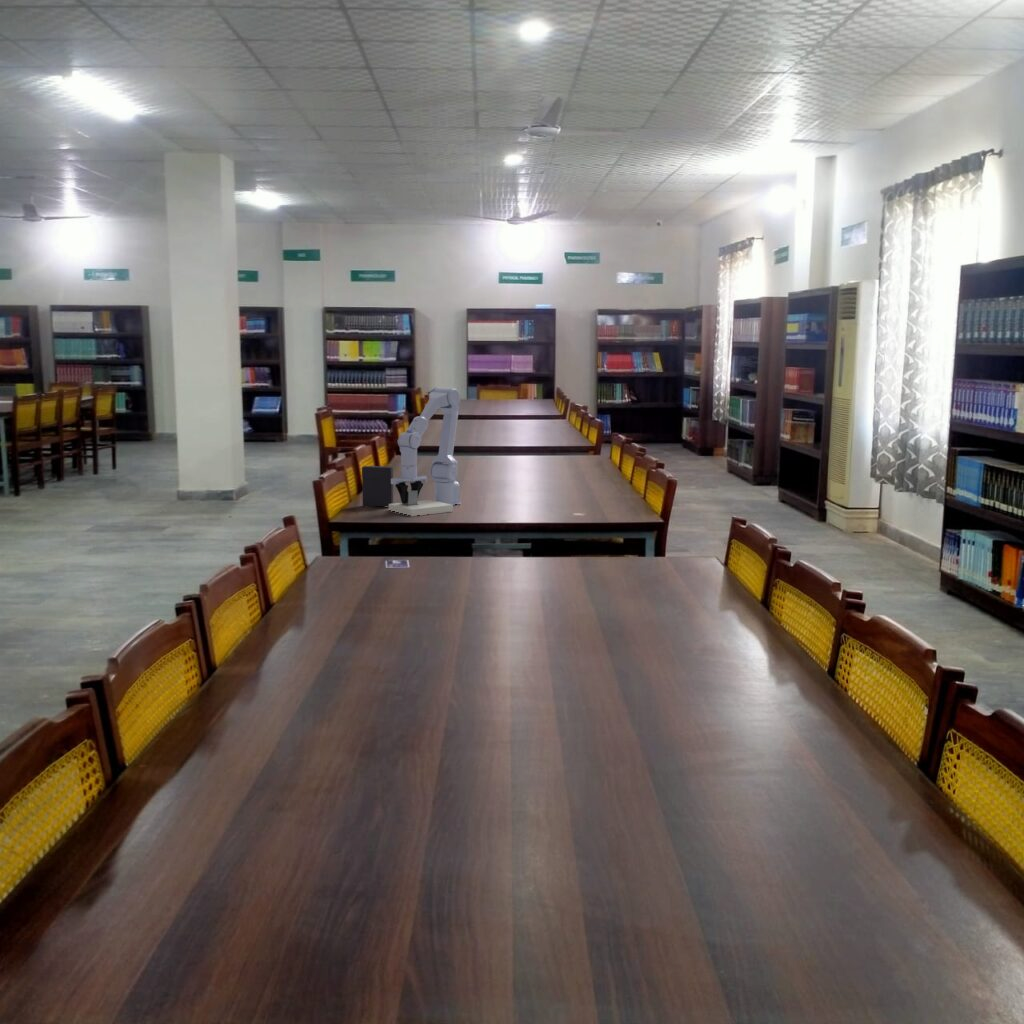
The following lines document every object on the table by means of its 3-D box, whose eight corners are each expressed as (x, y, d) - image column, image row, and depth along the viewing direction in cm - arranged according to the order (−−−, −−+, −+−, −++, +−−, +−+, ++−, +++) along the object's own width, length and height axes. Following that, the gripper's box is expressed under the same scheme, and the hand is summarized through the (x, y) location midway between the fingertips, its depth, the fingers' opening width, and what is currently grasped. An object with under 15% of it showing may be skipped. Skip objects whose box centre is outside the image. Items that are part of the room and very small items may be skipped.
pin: (411, 505, 355) (411, 488, 354) (417, 506, 352) (417, 490, 351) (402, 506, 352) (402, 489, 351) (408, 507, 350) (408, 491, 348)
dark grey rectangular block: (393, 506, 363) (393, 466, 361) (391, 507, 359) (390, 467, 357) (365, 505, 364) (364, 465, 362) (362, 506, 360) (361, 466, 358)
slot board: (429, 506, 364) (429, 499, 363) (453, 511, 352) (453, 504, 352) (388, 510, 352) (388, 503, 352) (411, 516, 341) (411, 509, 341)
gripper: (398, 467, 342) (398, 505, 345) (432, 465, 352) (432, 502, 354) (387, 465, 348) (387, 503, 350) (421, 463, 357) (421, 499, 359)
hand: (409, 502), depth 352 cm, fingers closed on pin, 4 cm apart
